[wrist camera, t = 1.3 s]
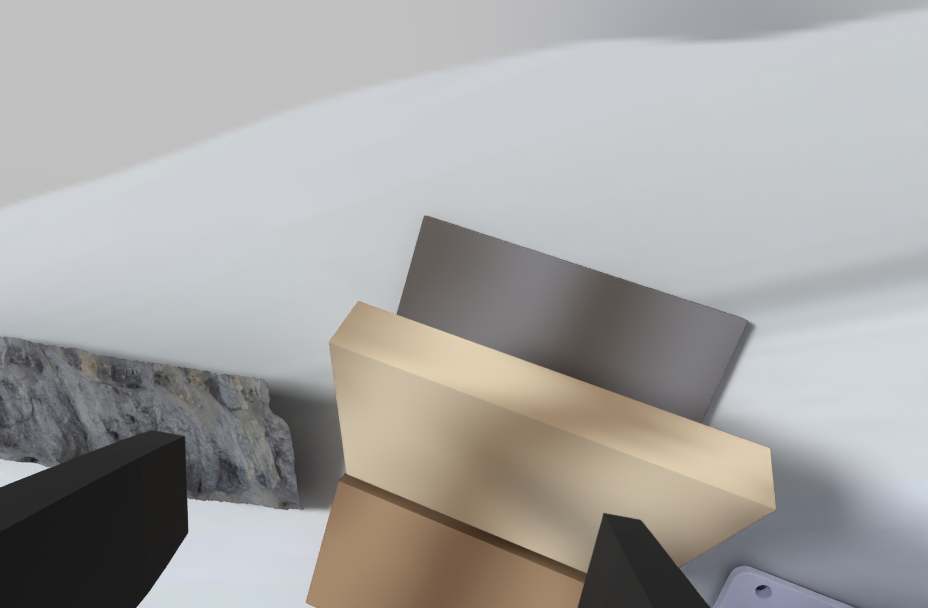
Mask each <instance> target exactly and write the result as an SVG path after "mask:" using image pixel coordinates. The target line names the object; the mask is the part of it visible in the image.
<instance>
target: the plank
mask: <svg viewBox="0 0 928 608" xmlns="http://www.w3.org/2000/svg"><path fill="white" fill-rule="evenodd" d="M329 346H330V354H331V361H332V369H333V376H334V384H335V392H336V399H337V407H338V414H339V422H340V429H341V437H342V444H343V452H344V459H345V467H346V474H348V475H350V476H353V477H355V478H358V479H360V480H362V481H365V482H367V483H370V484H372V485H375V486H377V487H379V488H382V489H384V490H387V491H389V492H391V493H394V494H396V495H399V496H401V497H404V498H406V499H408V500H411V501H413V502H416V503H418V504H421V505H423V506H425V507H428V508H430V509H433V510H435V511H437V512H440V513H442V514H445V515H447V516H450V517H452V518H454V519H457V520H459V521H462V522H464V523H466V524H469V525H471V526H474V527H476V528H479V529H481V530H483V531H486V532H488V533H491V534H493V535H495V536H498V537H500V538H503V539H505V540H508V541H510V542H512V543H515V544H517V545H520V546H522V547H524V548H527V549H529V550H532V551H534V552H537V553H539V554H541V555H544V556H546V557H549V558H551V559H553V560H556V561H558V562H561V563H563V564H566V565H568V566H570V567H573V568H575V569H578V570H580V571H583V572H585V573H587V571H588V568H589V564H590V560H591V557H592V553H593V550H594V546H595V542H596V539H597V535H598V531H599V528H600V524H601V520H602V517H603V513H607V514H613V515H618V516H623V517H629V518H634V519H640V520H642V522H643V523H644V524H645V525H646V527H647V528H648V529H649V530H650V532H651V533H652V534H653V535H654V537H655V538H656V539H657V540H658V542H659V543H660V544H661V546H662V547H663V548H664V550H665V551H666V552H667V553H668V555H669V556H670V557H671V559H672V560H673V561H674V562H675V564H676V565H677V566H678V568H679V567H681V566H683V565H684V564H686V563H688V562H689V561H691V560H693V559H694V558H696V557H698V556H699V555H701V554H703V553H704V552H706V551H708V550H709V549H711V548H713V547H714V546H716V545H718V544H719V543H721V542H723V541H724V540H726V539H728V538H729V537H731V536H733V535H734V534H736V533H738V532H739V531H741V530H743V529H745V528H746V527H748V526H750V525H751V524H753V523H755V522H756V521H758V520H760V519H761V518H763V517H765V516H766V515H768V514H770V513H771V512H773V511H775V510H776V503H775V493H774V483H773V473H772V463H771V453H770V448H767V447H765V446H762V445H759V444H756V443H754V442H751V441H748V440H745V439H742V438H740V437H737V436H734V435H731V434H728V433H726V432H723V431H720V430H717V429H714V428H712V427H709V426H706V425H703V424H700V423H698V422H695V421H692V420H689V419H686V418H684V417H681V416H678V415H675V414H673V413H670V412H667V411H664V410H661V409H659V408H656V407H653V406H650V405H647V404H645V403H642V402H639V401H636V400H633V399H631V398H628V397H625V396H622V395H619V394H617V393H614V392H611V391H608V390H605V389H603V388H600V387H597V386H594V385H591V384H589V383H586V382H583V381H580V380H578V379H575V378H572V377H569V376H566V375H564V374H561V373H558V372H555V371H552V370H550V369H547V368H544V367H541V366H538V365H536V364H533V363H530V362H527V361H524V360H522V359H519V358H516V357H513V356H510V355H508V354H505V353H502V352H499V351H497V350H494V349H491V348H488V347H485V346H483V345H480V344H477V343H474V342H471V341H469V340H466V339H463V338H460V337H457V336H455V335H452V334H449V333H446V332H443V331H441V330H438V329H435V328H432V327H429V326H427V325H424V324H421V323H418V322H415V321H413V320H410V319H407V318H404V317H402V316H399V315H396V314H393V313H390V312H388V311H385V310H382V309H379V308H376V307H374V306H371V305H368V304H365V303H362V302H360V301H358V302H357V304H356V305H355V306H354V308H353V309H352V311H351V312H350V313H349V315H348V316H347V318H346V319H345V320H344V322H343V323H342V325H341V326H340V327H339V329H338V330H337V332H336V333H335V334H334V336H333V337H332V339H331V340H330V341H329Z"/></svg>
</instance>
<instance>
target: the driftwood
mask: <svg viewBox="0 0 928 608" xmlns="http://www.w3.org/2000/svg"><path fill="white" fill-rule="evenodd" d="M268 391H269V389H268V388H267V385H266V383H265V382H264V380H263V379H261V378H260V379H259V380H258V379H255V378H254V377H252V378H249V377H243V376H237V375H227V374H222V375H217V374H216V373H213V374H211V372H209V371H200V370H197V369H189V368H180V367H170V366H168V365H166V366H164V365H161V364H154V363H151V364H150V363H145V362H138V361H129V360H125V359H117V358H113V357H106V356H96V355H94V354H91V355H90V354H89V353H87V352H86V351H80V350H78V349H76V348H75V349H74V348H67V349H65V348H63V347H61V348H58V347H57V346H56V345H54V346H50V345H44V344H39V343H32V342H30V341H26V340H21V339H15V338H9V337H3V338H0V459H4V460H10V461H16V462H32V463H38V464H41V465H43V466H46V467H54V466H56V465H59V464H61V463H64V462H66V461H69V460H71V459H74V458H76V457H79V456H81V455H84V454H86V453H89V452H92V451H94V450H97V449H99V448H102V447H104V446H107V445H110V444H112V443H115V442H118V441H120V440H123V439H126V438H129V437H131V436H134V435H137V434H140V433H144V432H147V431H150V430H155V431H160V432H166V433H171V434H176V435H182V436H185V447H186V478H187V498H189V499H196V500H203V501H206V500H208V501H209V500H211V501H213V500H215V501H219V502H223V501H226V502H231V503H246V504H248V503H249V504H254V505H263V506H266V507H273V508H275V509H284V510H288V509H290V508H291V509H300V510H302V509H303V510H304V508H303V506H302V505H301V503H300V498H299V494H298V489H297V483H296V479H297V478H296V474H295V472H294V467H295V466H294V463H295V460H294V458H295V456H294V452H295V451H293V449H294V448H293V446H292V440H291V434H290V433H291V432H290V429H289V427H288V425H287V423H286V422H285V420H284V419H282V418H281V417H278V416H277V415H276V414H273V413H272V411H271V410H270V408H269V402H270V401H271V400H270V397H269V394H268Z"/></svg>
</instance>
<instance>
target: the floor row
mask: <svg viewBox="0 0 928 608" xmlns="http://www.w3.org/2000/svg"><path fill="white" fill-rule="evenodd" d="M397 315H399V316H402V317H404V318H407V319H410V320H413V321H415V322H418V323H421V324H424V325H427V326H429V327H432V328H435V329H438V330H441V331H443V332H446V333H449V334H452V335H455V336H457V337H460V338H463V339H466V340H469V341H471V342H474V343H477V344H480V345H483V346H485V347H488V348H491V349H494V350H497V351H499V352H502V353H505V354H508V355H510V356H513V357H516V358H519V359H522V360H524V361H527V362H530V363H533V364H536V365H538V366H541V367H544V368H547V369H550V370H552V371H555V372H558V373H561V374H564V375H566V376H569V377H572V378H575V379H578V380H580V381H583V382H586V383H589V384H591V385H594V386H597V387H600V388H603V389H605V390H608V391H611V392H614V393H617V394H619V395H622V396H625V397H628V398H631V399H633V400H636V401H639V402H642V403H645V404H647V405H650V406H653V407H656V408H659V409H661V410H664V411H667V412H670V413H673V414H675V415H678V416H681V417H684V418H686V419H689V420H692V421H695V422H698V423H700V424H701V422H702V419H703V417H704V415H705V413H706V411H707V409H708V406H709V404H710V402H711V400H712V398H713V395H714V393H715V391H716V389H717V387H718V385H719V382H720V380H721V378H722V376H723V374H724V372H725V369H726V367H727V365H728V363H729V361H730V359H731V356H732V354H733V352H734V350H735V348H736V345H737V343H738V341H739V339H740V337H741V335H742V332H743V330H744V328H745V326H746V324H747V322H748V321H747V320H745V319H744V318H741V317H738V316H735V315H732V314H729V313H726V312H723V311H719V310H716V309H713V308H710V307H707V306H704V305H701V304H698V303H695V302H692V301H689V300H686V299H682V298H679V297H676V296H673V295H670V294H667V293H664V292H661V291H658V290H655V289H652V288H648V287H645V286H642V285H639V284H636V283H633V282H630V281H627V280H624V279H621V278H618V277H615V276H611V275H608V274H605V273H602V272H599V271H596V270H593V269H590V268H587V267H584V266H581V265H578V264H574V263H571V262H568V261H565V260H562V259H559V258H556V257H553V256H550V255H547V254H544V253H541V252H537V251H534V250H531V249H528V248H525V247H522V246H519V245H516V244H513V243H510V242H507V241H504V240H500V239H497V238H494V237H491V236H488V235H485V234H482V233H479V232H476V231H473V230H470V229H467V228H463V227H460V226H457V225H454V224H451V223H448V222H445V221H442V220H439V219H436V218H433V217H430V216H424V218H423V222H422V225H421V229H420V232H419V236H418V240H417V243H416V247H415V250H414V254H413V258H412V261H411V265H410V268H409V272H408V275H407V279H406V283H405V286H404V290H403V293H402V297H401V301H400V304H399V308H398V311H397ZM586 575H587V573H585V572H583V571H580V570H578V569H575V568H573V567H570V566H568V565H566V564H563V563H561V562H558V561H556V560H553V559H551V558H549V557H546V556H544V555H541V554H539V553H537V552H534V551H532V550H529V549H527V548H524V547H522V546H520V545H517V544H515V543H512V542H510V541H508V540H505V539H503V538H500V537H498V536H495V535H493V534H491V533H488V532H486V531H483V530H481V529H479V528H476V527H474V526H471V525H469V524H466V523H464V522H462V521H459V520H457V519H454V518H452V517H450V516H447V515H445V514H442V513H440V512H437V511H435V510H433V509H430V508H428V507H425V506H423V505H421V504H418V503H416V502H413V501H411V500H408V499H406V498H404V497H401V496H399V495H396V494H394V493H391V492H389V491H387V490H384V489H382V488H379V487H377V486H375V485H372V484H370V483H367V482H365V481H362V480H360V479H358V478H355V477H353V476H350V475H348V474H346V473H345V474H344V475H343V477H342V478H341V479H340V480H339V482H338V485H337V489H336V493H335V496H334V500H333V504H332V507H331V511H330V515H329V519H328V522H327V526H326V530H325V533H324V537H323V541H322V544H321V548H320V552H319V555H318V559H317V563H316V566H315V570H314V574H313V577H312V581H311V585H310V588H309V592H308V596H307V600H306V603H307V604H309V605H312V606H314V607H316V608H578V604H579V600H580V597H581V593H582V589H583V586H584V582H585V579H586Z"/></svg>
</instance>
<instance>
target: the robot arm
mask: <svg viewBox="0 0 928 608" xmlns="http://www.w3.org/2000/svg"><path fill="white" fill-rule="evenodd" d="M187 534H188V508H187V478H186V447H185V436H182V435H176V434H171V433H166V432H160V431H155V430H150V431H147V432H144V433H140V434H137V435H134V436H131V437H129V438H126V439H123V440H120V441H118V442H115V443H112V444H110V445H107V446H104V447H102V448H99V449H97V450H94V451H92V452H89V453H86V454H84V455H81V456H79V457H76V458H74V459H71V460H69V461H66V462H64V463H61V464H59V465H56V466H54V467H51V468H48V469H46V470H43V471H41V472H38V473H36V474H33V475H31V476H28V477H26V478H23V479H21V480H18V481H15V482H13V483H10V484H8V485H5V486H3V487H0V608H136V607H137V606H138V605H139V604H140V602H141V601H142V600H143V599H144V597H145V596H146V595H147V594H148V593H149V591H150V590H151V588H152V587H153V585H154V584H155V582H156V581H157V580H158V578H159V577H160V575H161V574H162V572H163V571H164V569H165V568H166V566H167V565H168V563H169V562H170V560H171V559H172V557H173V556H174V554H175V553H176V551H177V549H178V548H179V546H180V545H181V543H182V542H183V540H184V538H185V537H186V535H187ZM760 585H766V586H767V587H766V588H765V589H763V590H756V588H757V587H758V586H760ZM578 608H710V607H709V606H708V604H707V603H706V602H705V601H704V599H703V598H702V597H701V596H700V594H699V593H698V592H697V591H696V589H695V588H694V587H693V585H692V584H691V583H690V582H689V580H688V579H687V578H686V577H685V575H684V574H683V573H682V571H681V570H680V569H679V568H678V566H677V565H676V564H675V562H674V561H673V560H672V559H671V557H670V556H669V555H668V553H667V552H666V551H665V550H664V548H663V547H662V546H661V544H660V543H659V542H658V540H657V539H656V538H655V537H654V535H653V534H652V533H651V532H650V530H649V529H648V528H647V527H646V525H645V524H644V523H643V522H642V520H640V519H634V518H629V517H623V516H618V515H613V514H607V513H603V517H602V520H601V524H600V528H599V531H598V535H597V539H596V542H595V546H594V550H593V553H592V557H591V560H590V564H589V568H588V571H587V575H586V579H585V582H584V586H583V589H582V593H581V597H580V600H579V604H578ZM713 608H854V607H852V606H849V605H847V604H844V603H841V602H839V601H836V600H834V599H831V598H829V597H826V596H824V595H821V594H819V593H816V592H813V591H811V590H808V589H806V588H803V587H801V586H798V585H796V584H793V583H791V582H788V581H785V580H783V579H780V578H778V577H775V576H773V575H770V574H768V573H765V572H763V571H760V570H758V569H755V568H752V567H749V566H739V567H737V568H735V569H733V570H732V572H731V573H730V575H729V577H728V579H727V581H726V582H725V584H724V586H723V588H722V590H721V592H720V594H719V596H718V598H717V600H716V602H715V604H714V606H713Z"/></svg>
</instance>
